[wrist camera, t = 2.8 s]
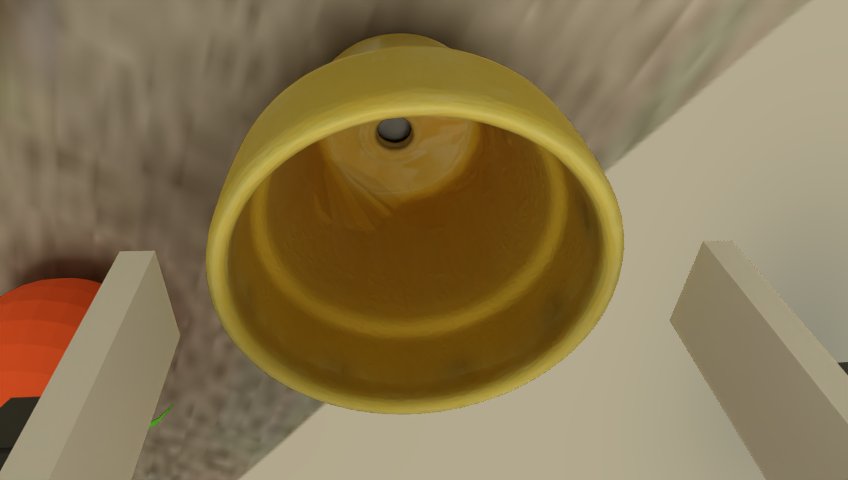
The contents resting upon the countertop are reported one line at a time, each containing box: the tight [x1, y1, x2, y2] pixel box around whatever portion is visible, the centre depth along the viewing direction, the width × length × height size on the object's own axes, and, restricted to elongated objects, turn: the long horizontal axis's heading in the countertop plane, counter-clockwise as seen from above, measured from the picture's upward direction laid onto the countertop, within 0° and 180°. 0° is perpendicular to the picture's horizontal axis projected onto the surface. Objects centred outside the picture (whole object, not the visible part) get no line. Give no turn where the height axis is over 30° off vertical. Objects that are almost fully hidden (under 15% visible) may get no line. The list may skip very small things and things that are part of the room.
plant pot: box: [206, 33, 624, 414], centre depth 18 cm, size 10×10×10 cm
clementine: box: [0, 278, 174, 429], centre depth 23 cm, size 8×7×7 cm
